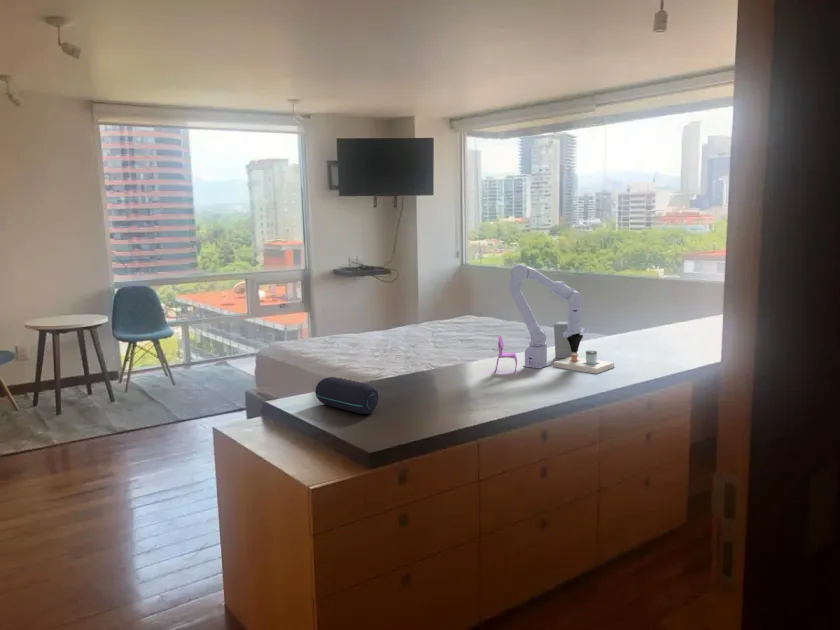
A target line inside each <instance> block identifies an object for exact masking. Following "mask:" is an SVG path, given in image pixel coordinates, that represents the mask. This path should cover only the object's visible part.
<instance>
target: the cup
mask: <svg viewBox="0 0 840 630" xmlns="http://www.w3.org/2000/svg"><path fill="white" fill-rule="evenodd" d="M597 354H598V351H597V350H586V351H585V358H586V364H587V365H597V360H598V359H597V357H598V356H597Z"/></svg>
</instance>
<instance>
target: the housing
mask: <svg viewBox="0 0 840 630" xmlns="http://www.w3.org/2000/svg"><path fill="white" fill-rule="evenodd" d="M553 367H554V368H560V369H567V370H571V371H572V370H573V371H577V372H582V373H583V372H585V373H590V374H596V375H597V374H599V373H602V372H605V371H607V370H610V369H614V368H615V362H614V361H613V362H612V361H605V360H599V359H597V365H587V364H586V357H585V358H584V357H579V356H577V362H572V361H571V357H569V358H561V359H559V360H556V361H554V362H553Z"/></svg>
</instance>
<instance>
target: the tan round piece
mask: <svg viewBox="0 0 840 630" xmlns="http://www.w3.org/2000/svg"><path fill="white" fill-rule="evenodd" d="M577 357H579V354H578V353H577V354H571V361H572V362H577Z"/></svg>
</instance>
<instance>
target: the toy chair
mask: <svg viewBox="0 0 840 630" xmlns="http://www.w3.org/2000/svg"><path fill="white" fill-rule="evenodd" d="M497 339H498V342H497V348H498V355H497V356H498V357H497V360H496V366H495V369H494V370H495V371H494V374H496V373H497V369H498V365H499V361H500V360H499V359H502V358H504V359H505V358H509V359H514V362H515V369H514V374H516V372H517V366H518V358H517V355H516V352H504V351H503V349H504V347H505V344H504V341H503V337H502V336H501V335H497Z"/></svg>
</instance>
